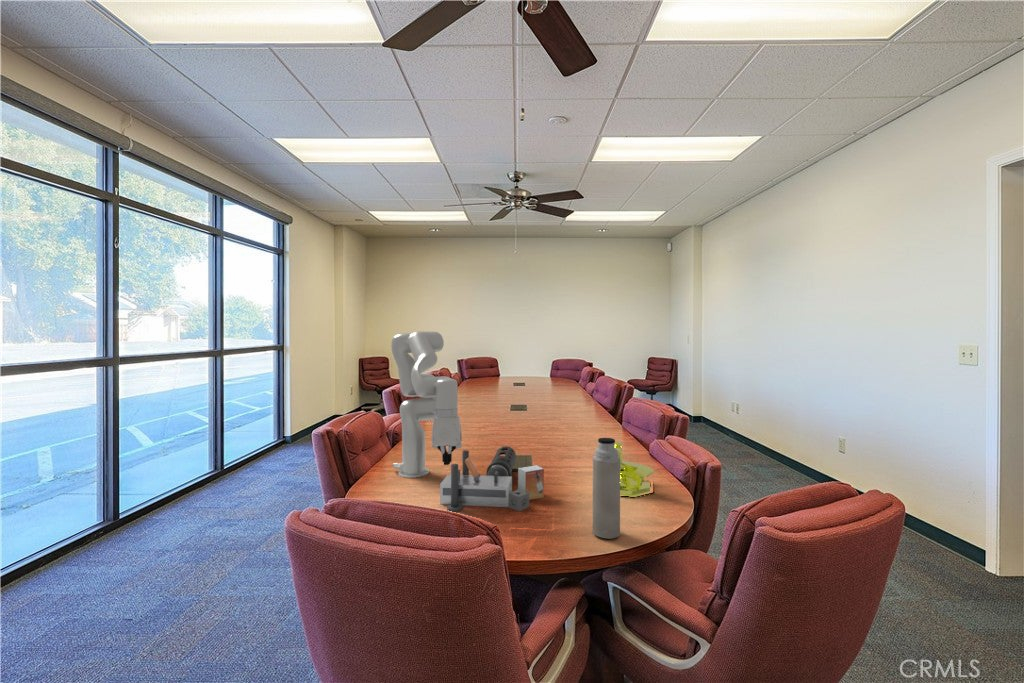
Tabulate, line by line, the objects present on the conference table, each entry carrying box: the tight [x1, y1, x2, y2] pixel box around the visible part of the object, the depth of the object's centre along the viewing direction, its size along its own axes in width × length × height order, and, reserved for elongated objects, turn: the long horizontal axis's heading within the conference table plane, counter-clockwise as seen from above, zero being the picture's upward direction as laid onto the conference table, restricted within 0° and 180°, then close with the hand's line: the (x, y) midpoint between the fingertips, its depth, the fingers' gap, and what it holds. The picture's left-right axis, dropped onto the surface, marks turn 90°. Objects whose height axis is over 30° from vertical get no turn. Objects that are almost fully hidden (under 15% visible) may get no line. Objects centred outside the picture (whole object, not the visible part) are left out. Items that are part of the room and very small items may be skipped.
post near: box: [446, 463, 463, 513], centre depth 148 cm, size 5×5×15 cm
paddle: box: [465, 457, 481, 482], centre depth 157 cm, size 2×4×8 cm, turn 174°
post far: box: [461, 449, 470, 475], centre depth 166 cm, size 5×5×15 cm
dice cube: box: [508, 489, 530, 512], centre depth 150 cm, size 5×5×5 cm
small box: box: [517, 464, 545, 501], centre depth 159 cm, size 8×6×10 cm
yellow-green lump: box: [614, 440, 655, 497], centre depth 171 cm, size 18×25×16 cm
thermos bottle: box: [592, 437, 621, 539], centre depth 130 cm, size 8×8×28 cm
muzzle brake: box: [485, 445, 517, 477], centre depth 180 cm, size 10×28×10 cm, turn 174°
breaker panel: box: [439, 469, 513, 508], centre depth 156 cm, size 24×11×10 cm, turn 84°
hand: (447, 463), depth 158 cm, fingers closed
